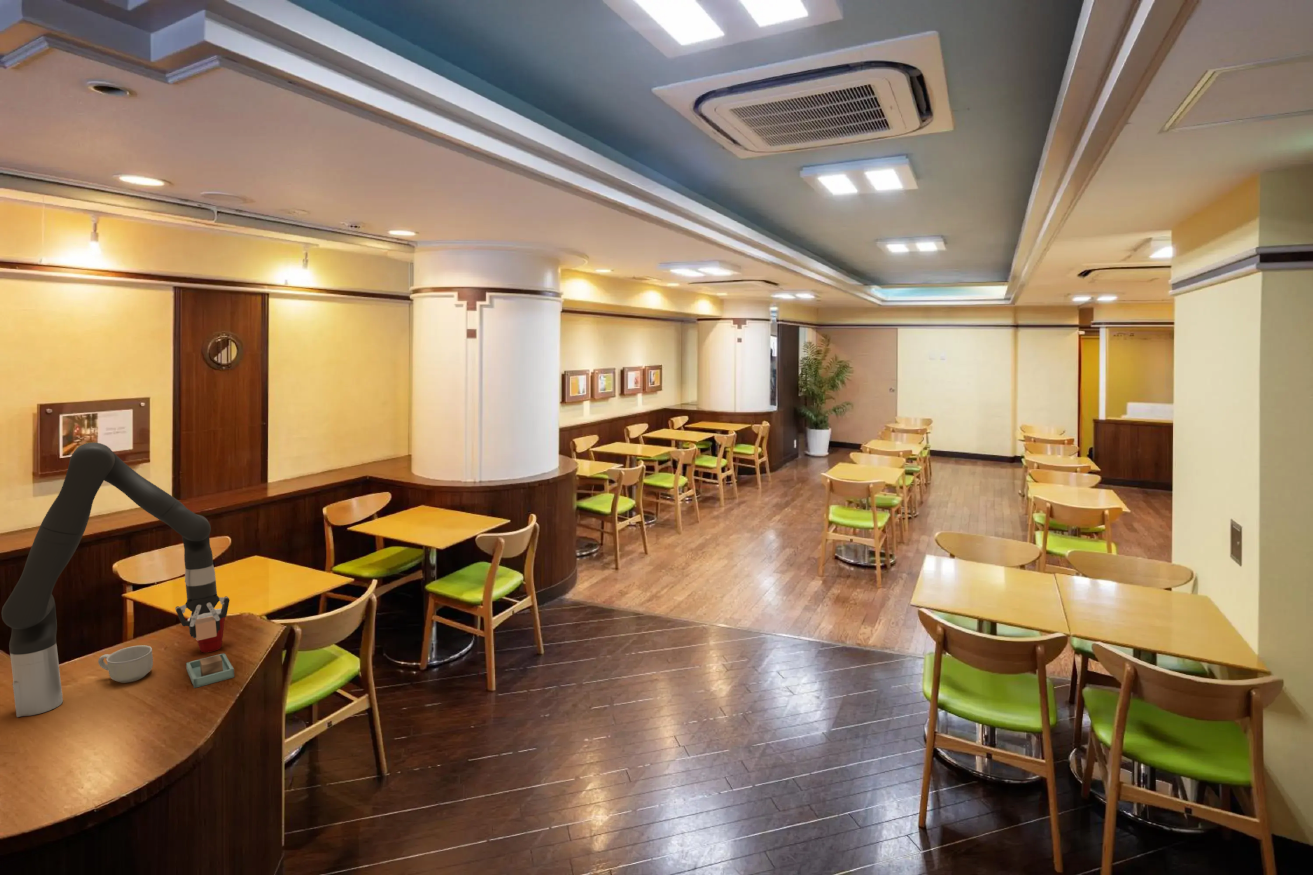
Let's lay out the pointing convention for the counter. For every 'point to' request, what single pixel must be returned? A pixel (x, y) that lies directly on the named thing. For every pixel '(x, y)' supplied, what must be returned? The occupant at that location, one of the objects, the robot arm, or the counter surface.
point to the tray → (198, 681)
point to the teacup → (128, 663)
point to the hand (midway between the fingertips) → (205, 634)
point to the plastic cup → (212, 642)
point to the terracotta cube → (205, 628)
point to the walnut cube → (211, 665)
